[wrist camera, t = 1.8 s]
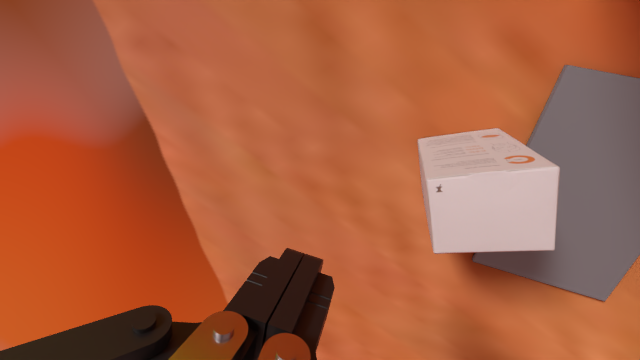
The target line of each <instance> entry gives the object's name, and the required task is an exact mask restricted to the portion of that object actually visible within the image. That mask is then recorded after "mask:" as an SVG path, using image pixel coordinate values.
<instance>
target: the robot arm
mask: <svg viewBox="0 0 640 360" xmlns="http://www.w3.org/2000/svg"><path fill="white" fill-rule="evenodd" d="M322 265H323V259H320V258H317V257H314V256H311V255H308V254H304V253H301V252H298V251H295V250H292V249H289V248H286V250H285V251H284V253H283V254H282V256H281V257H280V259H277V258H274V257H271V256H270V257H268V258H266V259H265V260H263V261H261V262H259V264H258V265H257V266H256V268H255V269H254V270H253V272H252V273H251V274H250V276H249V277H248V278H247V281H245V282H244V284H243V285H242V286H241V288H240V289H239V290H238V292H237V293H236V294H235V296H234V297H233V299H232V300H231V301H230V303H229V304H228V305H227V307H226V308H225V309H224V310H223V311H221V312H217V313H214V314H212V315H210V316H209V317H207V318H206V319H205V320H204V321H203V322H200V323H184V322H172V317H171V314H170V313H169V311H168V310H167V309H165V308H163V307H160V306H153V305H152V306H143V307H140V308H136V309H134V310H130V311H127V312H124V313H121V314H117V315H114V316H111V317H108V318H105V319H102V320H98V321H95V322H92V323H89V324H85V325H82V326H79V327H76V328H73V329H69V330H66V331H63V332H60V333H57V334H53V335H51V336H47V337H44V338H41V339H38V340H35V341H31V342H28V343H25V344H21V345H18V346H15V347H12V348H9V349H6V350H2V351H0V360H317V358H316V350H317V346H318V343H319V340H320V337H321V334H322V330H323V327H324V324H325V321H326V317H327V314H328V310H329V306H330V303H331V299H332V295H333V291H334V284H333V279H332V277H331V276H328V275H325V274H322V273H321V269H322Z"/></svg>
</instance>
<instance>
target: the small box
mask: <svg viewBox="0 0 640 360" xmlns="http://www.w3.org/2000/svg"><path fill="white" fill-rule="evenodd" d="M418 151H419V163H420V173H421V183H422V192H423V198H424V205H425V210H426V215H427V221H428V227H429V232H430V238H431V243H432V247H433V251H434V253H435V254H440V253H476V252H512V251H554V249H555V234H556V220H557V205H558V191H559V177H560V167H559V166H557V165H556V164H554V163H552V162H551V161H549V160H547V159H546V158H544V157H543V156H541V155H540V154H538V153H536V152H535V151H533V150H532V149H530V148H529V147H527V146H525V145H524V144H522V143H521V142H519V141H518V140H516V139H514V138H513V137H511V136H510V135H508V134H507V133H505V132H503V131H502V130H500V129H499V128H494V129H487V130H479V131H471V132H464V133H457V134H450V135H442V136H435V137H428V138H422V139H418Z"/></svg>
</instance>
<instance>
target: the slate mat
mask: <svg viewBox="0 0 640 360" xmlns="http://www.w3.org/2000/svg"><path fill="white" fill-rule="evenodd" d="M526 146H527V147H529V148H530V149H532V150H533V151H535V152H536V153H538V154H540V155H541V156H543V157H544V158H546V159H547V160H549V161H551V162H552V163H554V164H556V165H557V166H559V167H560V177H559V191H558V205H557V220H556V234H555V249H554V251H512V252H476V253H474V255H473V257H472V260H473V262H476V263H479V264H483V265H486V266H489V267H493V268H496V269H499V270H503V271H506V272H509V273H512V274H516V275H519V276H522V277H526V278H529V279H532V280H536V281H539V282H542V283H546V284H549V285H552V286H555V287H559V288H562V289H565V290H569V291H572V292H575V293H579V294H582V295H585V296H589V297H592V298H595V299H598V300H602V301H605V300H606V299H607V298H608V296H609V295H610V294H611V292H612V291H613V290H614V288H615V287H616V286H617V284H618V283H619V282H620V280H621V279H622V278H623V276H624V275H625V274H626V272H627V271H628V270H629V268H630V267H631V266H632V264H633V263H634V262H635V260H636V259H637V258H638V256H639V255H640V78H635V77H629V76H624V75H618V74H613V73H608V72H602V71H597V70H592V69H586V68H581V67H575V66H570V65H565V66H564V68H563V70H562V72H561V74H560V76H559V78H558V80H557V82H556V84H555V86H554V88H553V91H552V93H551V95H550V97H549V99H548V101H547V103H546V105H545V107H544V109H543V111H542V113H541V116H540V118H539V120H538V122H537V124H536V126H535V128H534V130H533V132H532V134H531V136H530V139H529V141H528V143H527V145H526Z"/></svg>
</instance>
